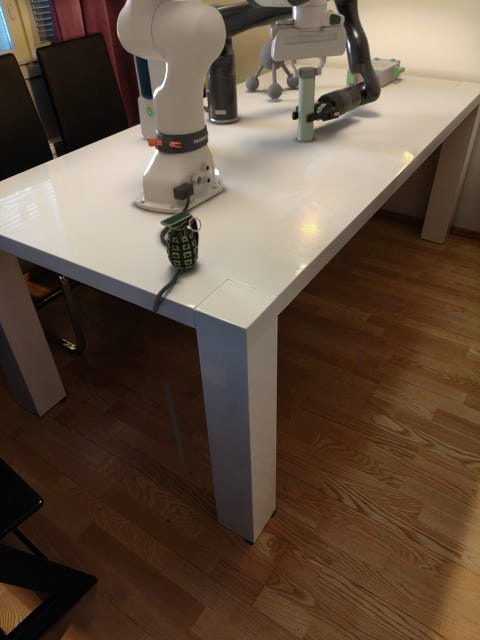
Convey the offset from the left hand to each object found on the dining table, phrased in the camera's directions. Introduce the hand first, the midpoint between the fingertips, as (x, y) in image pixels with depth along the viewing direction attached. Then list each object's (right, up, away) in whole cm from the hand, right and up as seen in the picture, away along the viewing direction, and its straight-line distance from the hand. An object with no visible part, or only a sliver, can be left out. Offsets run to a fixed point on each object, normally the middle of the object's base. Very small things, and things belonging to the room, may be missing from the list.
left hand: (307, 76), depth 135 cm
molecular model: (-4, +22, +56) cm, 61 cm away
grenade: (-29, -58, -44) cm, 78 cm away
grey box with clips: (+36, +30, +64) cm, 79 cm away
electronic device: (-43, -11, +18) cm, 48 cm away
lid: (0, +1, -1) cm, 2 cm away
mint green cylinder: (+1, -14, +11) cm, 17 cm away
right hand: (-1, -9, +5) cm, 11 cm away
